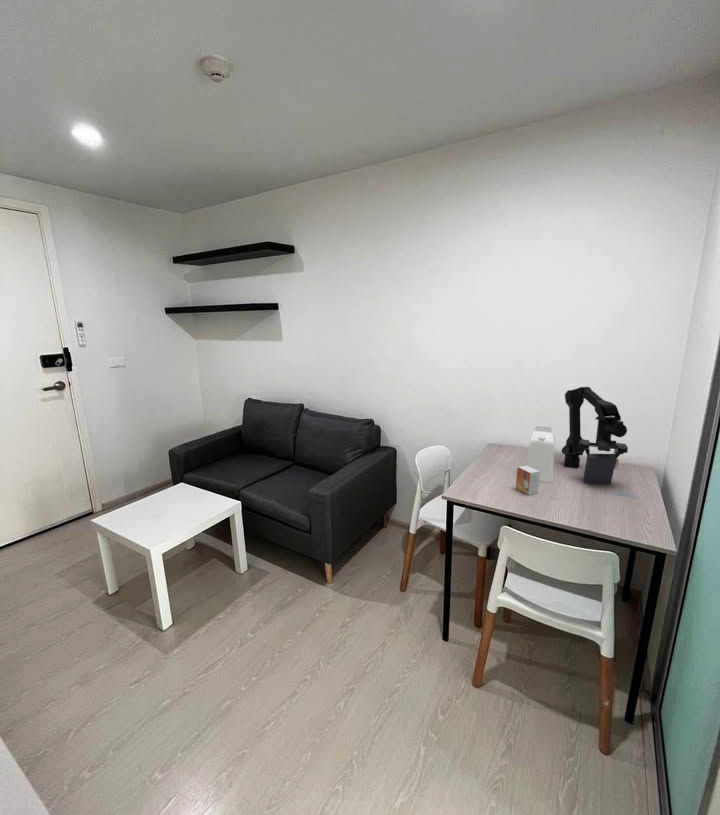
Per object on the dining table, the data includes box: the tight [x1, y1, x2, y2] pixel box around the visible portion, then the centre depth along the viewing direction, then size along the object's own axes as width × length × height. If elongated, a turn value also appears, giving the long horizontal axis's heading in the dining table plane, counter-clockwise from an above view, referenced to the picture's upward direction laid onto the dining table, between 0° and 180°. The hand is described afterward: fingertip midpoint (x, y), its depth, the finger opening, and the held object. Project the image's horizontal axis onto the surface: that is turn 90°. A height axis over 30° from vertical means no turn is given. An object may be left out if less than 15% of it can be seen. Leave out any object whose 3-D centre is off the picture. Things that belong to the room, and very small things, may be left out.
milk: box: [526, 424, 556, 484], centre depth 192 cm, size 12×12×26 cm
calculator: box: [582, 453, 618, 485], centre depth 183 cm, size 11×4×15 cm, turn 79°
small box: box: [515, 465, 540, 496], centre depth 178 cm, size 8×6×10 cm
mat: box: [612, 490, 640, 499], centre depth 177 cm, size 9×13×1 cm
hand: (600, 463), depth 184 cm, fingers open, 9 cm apart
